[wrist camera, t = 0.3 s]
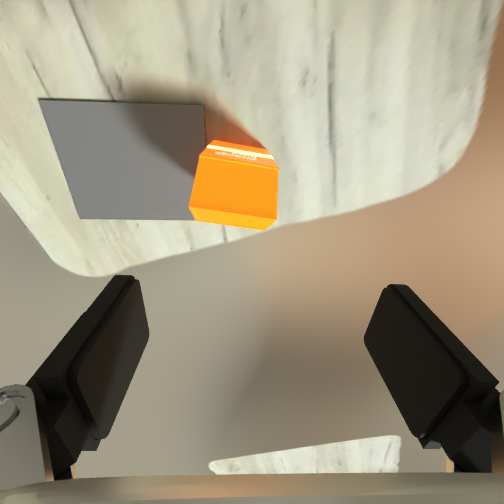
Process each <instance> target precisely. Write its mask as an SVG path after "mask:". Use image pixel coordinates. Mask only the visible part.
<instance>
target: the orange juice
mask: <svg viewBox="0 0 504 504" xmlns="http://www.w3.org/2000/svg"><path fill="white" fill-rule="evenodd" d="M278 171H279V168H278V166H277V165H276V163H275V161H274V160H273V157H272V156H271V154H270V153H269V151H268V150H267V149H262V148H256V147H250V146H245V145H239V144H233V143H228V142H222V141H216V140H213V141H212V142H211V143H210V144H209V145H208V146H207V147H206V149H205V150H204V151H203V152H202V153H201V154H200V155H199V162H198V167H197V171H196V176H195V180H194V185H193V190H192V194H191V199H190V204H189V208H190V210H191V212H192V214H193V216H194V218H195V220H196V221H200V222H208V223H215V224H222V225H229V226H236V227H243V228H251V229H258V230H266V229H267V228H268V227H269V226H270V225H272V224H273V223H274V222H275V221H276V220H277V192H278Z"/></svg>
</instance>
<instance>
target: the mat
mask: <svg viewBox="0 0 504 504" xmlns="http://www.w3.org/2000/svg"><path fill="white" fill-rule="evenodd" d="M39 103H40V106H41V109H42V112H43V114H44V117H45V120H46V123H47V126H48V129H49V132H50V134H51V137H52V140H53V143H54V146H55V149H56V152H57V155H58V157H59V160H60V163H61V166H62V169H63V172H64V175H65V177H66V180H67V183H68V186H69V189H70V192H71V195H72V198H73V200H74V203H75V206H76V209H77V212H78V215H79V218H80V219H127V220H195V218H194V216H193V214H192V212H191V210H190V208H189V204H190V199H191V194H192V190H193V185H194V180H195V176H196V171H197V167H198V162H199V155H200V154H201V153H202V152H203V151H204V150H205V149H206V139H205V123H204V107H203V105H182V104H150V103H117V102H84V101H51V100H39Z"/></svg>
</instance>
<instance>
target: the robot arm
mask: <svg viewBox="0 0 504 504" xmlns="http://www.w3.org/2000/svg"><path fill="white" fill-rule="evenodd" d="M148 339H149V328H148V323H147V318H146V313H145V307H144V302H143V297H142V292H141V287H140V282H139V280H136V279H135V278H134V277H133V276H132V275H115V276H114V277H113V278H112V279H111V281H110V282H109V283H108V284H107V286H106V287H105V288H104V290H103V291H102V292H101V293H100V294H99V296H98V297H97V298H96V299H95V301H94V302H93V303H92V305H91V306H90V307H89V308H88V310H87V311H86V312H84V313H83V314H82V315H81V316H80V318H79V319H78V320H77V321H76V323H75V324H74V325H73V326H72V328H71V329H70V330H69V331H68V333H67V334H66V335H65V336H64V338H63V339H62V340H61V341H60V343H59V344H58V345H57V346H56V348H55V349H54V350H53V351H52V352H51V354H50V355H49V356H48V358H47V359H46V360H45V361H44V362H43V364H42V365H41V366H40V367H39V369H38V370H37V371H36V372H35V374H34V375H33V376H32V377H31V379H30V380H29V381H28V382H27V384H26V385H17V384H15V385H10V386H5V387H2V388H0V504H504V390H503V391H502V392H500V393H499V392H498V390H497V389H495V387H496V385H497V384H498V383H499V381H498V380H497V379H496V378H495V377H494V376H493V375H492V374H491V373H490V372H489V371H488V370H487V368H486V367H485V366H484V365H483V364H482V363H481V362H480V361H479V360H478V359H477V358H476V357H475V356H474V355H473V354H472V353H471V352H470V351H469V350H468V349H467V347H465V345H463V343H462V342H461V341H460V340H459V339H458V338H457V337H456V336H455V335H454V334H453V333H452V332H451V331H450V330H449V329H448V328H447V326H446V325H445V324H444V323H443V322H442V321H441V320H440V319H439V318H438V317H437V316H436V315H435V314H434V313H433V312H432V311H431V310H430V309H429V308H428V307H427V305H426V304H425V303H424V302H423V301H422V300H421V299H420V298H419V297H418V296H417V295H416V294H415V293H414V292H413V291H412V290H411V289H410V288H409V287H408V286H407V285H402V284H390V285H388V286H387V288H384V289H383V291H382V293H381V296H380V298H379V301H378V303H377V305H376V308H375V310H374V313H373V315H372V318H371V320H370V323H369V325H368V328H367V330H366V333H365V335H364V343H365V346H366V348H367V349H368V351H369V353H370V355H371V357H372V359H373V361H374V363H375V365H376V367H377V369H378V371H379V372H380V374H381V376H382V378H383V380H384V382H385V384H386V386H387V388H388V390H389V391H390V393H391V395H392V397H393V399H394V401H395V403H396V405H397V407H398V408H399V411H400V412H401V414H402V416H403V418H404V420H405V422H406V424H407V426H408V427H409V430H410V431H411V433H412V434H413V435H414V436H415V437H417V438H418V440H419V441H420V443H421V445H422V447H423V449H440V448H441V447H442V448H443V449H444V451H445V453H446V454H447V458H446V472H445V473H312V474H233V475H176V476H132V477H108V478H107V477H105V478H79V479H77V476H76V472H75V467H74V463H76V461H77V458H78V457H79V455H80V453H81V451H96V450H97V448H98V446H99V443H100V441H101V439H104V438H106V437H107V436H108V434H109V432H110V430H111V427H112V425H113V423H114V421H115V418H116V416H117V413H118V411H119V409H120V406H121V404H122V401H123V399H124V397H125V394H126V392H127V390H128V387H129V385H130V382H131V380H132V378H133V375H134V373H135V370H136V368H137V366H138V363H139V361H140V358H141V356H142V353H143V351H144V349H145V347H146V344H147V342H148Z"/></svg>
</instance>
